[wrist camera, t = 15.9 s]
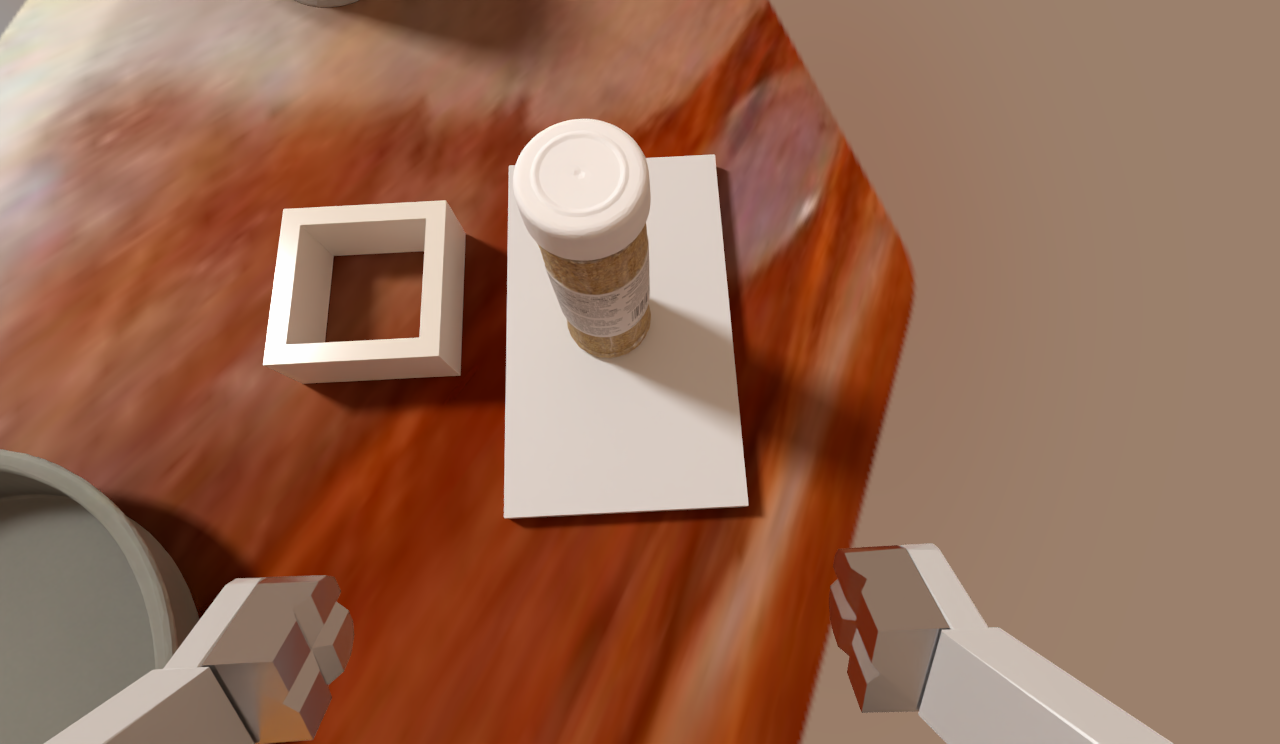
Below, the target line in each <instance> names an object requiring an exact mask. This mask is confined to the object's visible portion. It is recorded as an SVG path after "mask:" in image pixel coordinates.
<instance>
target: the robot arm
mask: <svg viewBox="0 0 1280 744" xmlns="http://www.w3.org/2000/svg"><path fill="white" fill-rule="evenodd" d="M833 568H834V570H835V573H836V575H837V578H838V579H837V580H836V581H835V582H834V583H833V584H832V585H831V586H830V594H829V611H830V620H831V625H832V629H833V633H834V636H835V639H836V642H837V645H838V647H839V648H840V649H842V650H843V651H844V652H845V653H846V654H848V655H849V656H850V657H849V664H848V670H847V673H848V676H849V679H850V682H851V684H852V687H853V690H854V693H855V696H856V698H857V701H858V704H859V707H860V709H861V712H862V713H868V712H915V711H919V713H918V715H919V716H920V717H921V718H922V719H923V720H924V721H925V722H926V723H927V724H928V725H929V726H930V727H931V728H932V729H933V730H934V731H935V732H936V733H937V734H938V735H939V736H940V737H941V738H942V739H943V740H944V741H945V742H946V743H947V744H1173V743H1172V742H1170V741H1169V740H1167V739H1165V738H1164V737H1163V736H1161V735H1160V734H1158V733H1157V732H1155V731H1154V730H1152V729H1151V728H1149V727H1148V726H1146V725H1145V724H1143V723H1142V722H1140V721H1139V720H1137V719H1136V718H1134V717H1133V716H1131V715H1129V714H1128V713H1127V712H1125V711H1124V710H1122V709H1121V708H1119V707H1118V706H1116V705H1115V704H1113V703H1112V702H1110V701H1109V700H1107V699H1105V698H1104V697H1103V696H1101V695H1100V694H1098V693H1097V692H1095V691H1094V690H1092V689H1091V688H1089V687H1088V686H1086V685H1085V684H1083V683H1082V682H1080V681H1079V680H1077V679H1076V678H1074V677H1073V676H1071V675H1070V674H1068V673H1067V672H1065V671H1064V670H1062V669H1061V668H1059V667H1058V666H1056V665H1055V664H1053V663H1052V662H1050V661H1049V660H1047V659H1046V658H1044V657H1043V656H1041V655H1039V654H1038V653H1037V652H1035V651H1034V650H1032V649H1031V648H1029V647H1028V646H1026V645H1025V644H1023V643H1022V642H1020V641H1019V640H1017V639H1016V638H1014V637H1012V636H1011V635H1010V634H1008V633H1006V632H1005V631H1004V630H1002V629H1001V628H999V627H998V628H997V627H994V628H993V627H991V628H989V627H988V625H987V624H986V622H985V621H984V619H983V618H982V616H981V614H980V613H979V611H978V610H977V608H976V606H975V605H974V603H973V602H972V600H971V599H970V597H969V595H968V594H967V592H966V591H965V589H964V587H963V586H962V584H961V583H960V581H959V580H958V578H957V576H956V575H955V573H954V571H953V570H952V568H951V567H950V565H949V564H948V562H947V560H946V559H945V557H944V556H943V554H942V553H941V551H940V549H939V548H938V547H937V546H935V545H934V544H932V543H930V544H913V545H901V546H897V545H896V546H879V547H862V548H846V549H838V550H837V552H836V554H835V558H834V564H833ZM340 593H341V590H340V588H339V586H338V584H337V581H336V579H335V577H332V576H287V577H266V578H236V579H234V580H233V581H231V582H229V583H228V584H226V585H225V586H224V588H223V589H222V590H221V592H220V593H219V594H218V596H217V597H216V598H215V600H214V601H213V602H212V604H211V605H210V606H209V608H208V609H207V610H206V612H205V613H204V614H203V616H202V617H201V618H200V620H199V621H198V623H197V624H196V625H195V627H194V628H193V629H192V631H191V632H190V633H189V635H188V636H187V637H186V639H185V640H184V641H183V643H182V644H181V645H180V647H179V648H178V649H177V651H176V652H175V653H174V655H173V656H172V658H171V659H170V660H169V662H168V663H167V664H166V666H165V667H164V668H163V669H155V670H152V671H150V672H149V673H147V674H146V675H144V676H143V677H141V678H140V679H138V680H137V681H135V682H134V683H132V684H131V685H129V686H128V687H126V688H125V689H124V690H122V691H121V692H119V693H118V694H116V695H115V696H113V697H112V698H110V699H109V700H107V701H106V702H104V703H103V704H101V705H100V706H98V707H97V708H95V709H94V710H93V711H91V712H90V713H88V714H87V715H85V716H84V717H82V718H81V719H79V720H78V721H76V722H75V723H73V724H72V725H70V726H69V727H67V728H66V729H65V730H63V731H62V732H60V733H59V734H57V735H56V736H54V737H53V738H51V739H50V740H48V741H47V742H45V743H44V744H266V743H278V742H291V741H304V740H313V739H314V736H315V734H316V732H317V730H318V728H319V725H320V723H321V721H322V719H323V717H324V714H325V712H326V710H327V708H328V706H329V703H330V701H331V699H332V696H331V693H330V689H329V686H328V685H329V684H330V683H331V682H332V681H333V680H334V679H336V678H337V677H338V676H339V675H340V674H341V673H342V672H344V670H345V667H346V665H347V663H348V660H349V658H350V656H351V652H352V646H353V640H354V628H353V620H352V618H351V615H350V612H349V610H347V609H346V608H344V607H343V606H341V605H340V604H339V603H337V602H336V601H337V599H338V597H339V595H340Z"/></svg>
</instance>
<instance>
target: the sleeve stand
mask: <svg viewBox="0 0 1280 744" xmlns="http://www.w3.org/2000/svg"><path fill="white" fill-rule="evenodd" d="M465 238H466V233H465V232H464V230H463V228H462V226H461V225H460V223H459V221H458V220H457V218H456V216H455V215H454V213H453V211H452V210H451V208H450V206H449V205H448V203H447V201H446V200H444V201H425V202H407V203H388V204H369V205H351V206H332V207H313V208H295V209H283V216H282V223H281V231H280V239H279V246H278V254H277V262H276V269H275V277H274V284H273V292H272V300H271V307H270V315H269V323H268V330H267V338H266V346H265V353H264V361H263V365H264V366H266V367H268V368H270V369H272V370H274V371H277V372H279V373H281V374H283V375H285V376H287V377H289V378H291V379H293V380H296V381H298V382H300V383H302V384H308V383H328V382H347V381H366V380H385V379H404V378H424V377H443V376H461V350H462V322H463V294H464V266H465ZM418 251H424V265H423V283H422V301H421V319H420V336H419V338H402V339H383V340H363V341H344V342H325V338H326V328H327V318H328V308H329V299H330V289H331V279H332V269H333V259H334V256H343V255H362V254H381V253H400V252H418Z"/></svg>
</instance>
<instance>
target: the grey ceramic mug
mask: <svg viewBox="0 0 1280 744" xmlns="http://www.w3.org/2000/svg"><path fill="white" fill-rule="evenodd" d="M295 1H297V2H299V3H302V4H305V5H308V6H315V7H337V6H343V5H347V4H351V3H354V2H356V1H359V0H295Z"/></svg>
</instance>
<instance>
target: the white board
mask: <svg viewBox="0 0 1280 744" xmlns="http://www.w3.org/2000/svg"><path fill="white" fill-rule="evenodd" d="M646 161H647V164H648V169H649V179H650V193H651V203H650V211H649V215H648V218H647V221H646V227H647V235H648V241H649V276H650V298H649V307H650V311H651V321H650V328H649V330H648V332H647V334H646V337H645V338H644V339H643V341H642V342H641V344H640V345H639V346H638V347H636V348H635V349H634V350H632V351H631V352H629V353H627V354H624V355H622V356H619V357H613V358H602V357H597V356H595V355H592V354H589V353H588V352H586V351H585V350H583V349H581V348H580V347H579V346H578V345H577V343H576V342H575V341H574V339H573V338H572V336H571V335H570V332H569V329H568V326H567V319H566V317H565V316H564V314H563V312H562V310H561V307H560V305H559V302H558V300H557V297H556V295H555V292H554V290H553V287H552V285H551V282H550V279H549V277H548V274H547V271H546V269H545V263H544V260H543V257H542V254H541V251H540V248H539V246H538V244H537V242H536V241H535V240H534V239H533V238H532V237H531V235H530V234H529V232H528V230H527V228H526V226H525V224H524V222H523V219H522V217H521V214H520V212H519V209H518V206H517V203H516V200H515V196H514V191H513V174H514V168H515V165H511V166H509V190H508V262H507V333H506V405H505V477H504V518H507V519H517V518H537V517H557V516H576V515H596V514H616V513H636V512H655V511H675V510H695V509H714V508H734V507H747V506H749V505H748V494H747V484H746V474H745V463H744V453H743V442H742V432H741V422H740V411H739V401H738V390H737V380H736V370H735V359H734V349H733V338H732V328H731V318H730V307H729V297H728V286H727V276H726V266H725V255H724V245H723V235H722V224H721V214H720V203H719V193H718V183H717V172H716V162H715V155H696V156H678V157H659V158H646Z"/></svg>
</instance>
